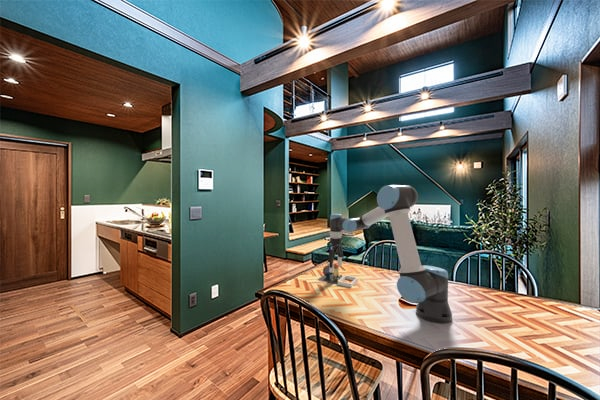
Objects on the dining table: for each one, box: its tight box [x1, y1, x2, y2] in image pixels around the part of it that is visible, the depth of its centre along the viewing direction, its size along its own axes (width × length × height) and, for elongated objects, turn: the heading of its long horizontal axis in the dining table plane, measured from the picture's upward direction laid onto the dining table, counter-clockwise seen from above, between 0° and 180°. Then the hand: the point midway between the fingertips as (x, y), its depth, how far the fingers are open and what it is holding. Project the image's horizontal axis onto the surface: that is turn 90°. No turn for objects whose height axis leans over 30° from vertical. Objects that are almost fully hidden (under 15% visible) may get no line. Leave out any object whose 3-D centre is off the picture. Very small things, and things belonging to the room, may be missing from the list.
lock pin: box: [333, 263, 340, 282], centre depth 158 cm, size 3×3×11 cm
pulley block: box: [317, 264, 343, 285], centre depth 162 cm, size 13×15×9 cm
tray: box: [337, 275, 359, 288], centre depth 155 cm, size 13×9×3 cm
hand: (335, 269), depth 158 cm, fingers open, 13 cm apart
